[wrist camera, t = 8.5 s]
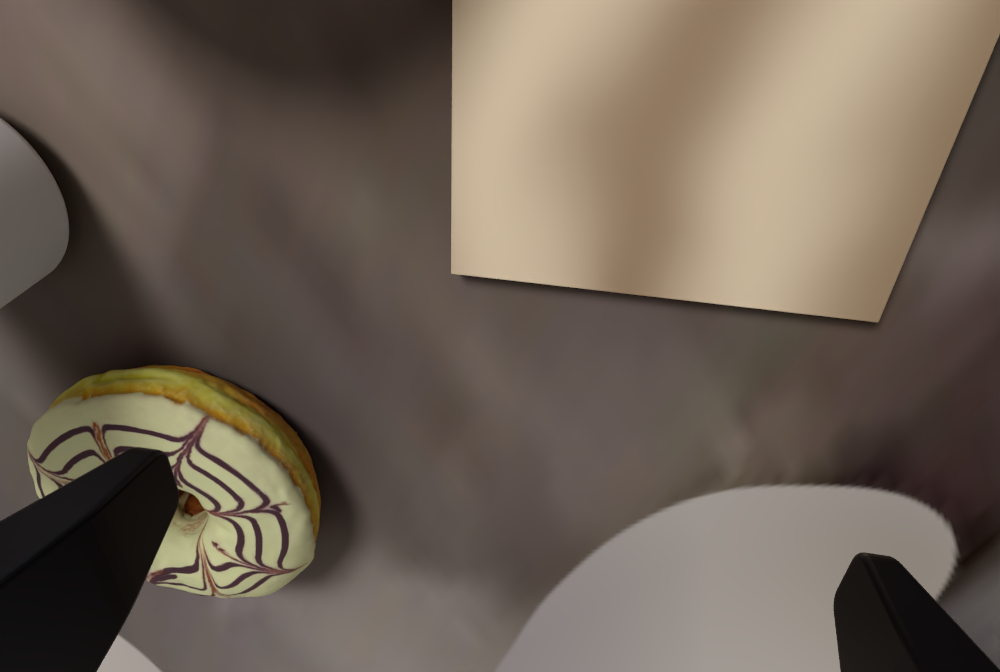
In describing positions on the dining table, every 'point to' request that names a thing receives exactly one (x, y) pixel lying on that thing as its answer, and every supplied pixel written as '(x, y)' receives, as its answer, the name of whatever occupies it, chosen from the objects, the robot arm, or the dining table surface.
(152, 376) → the decorated donut
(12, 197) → the beverage can
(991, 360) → the dining table surface
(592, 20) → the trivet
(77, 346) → the dining table surface
